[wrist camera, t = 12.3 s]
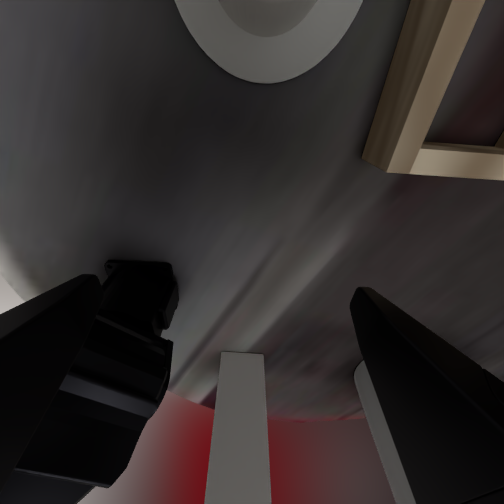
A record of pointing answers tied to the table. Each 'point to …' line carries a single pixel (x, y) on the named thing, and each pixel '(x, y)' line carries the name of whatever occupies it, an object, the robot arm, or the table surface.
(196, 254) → the table surface
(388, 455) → the utensil holder
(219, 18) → the mat
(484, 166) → the stand
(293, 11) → the jug
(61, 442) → the robot arm
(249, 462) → the milk
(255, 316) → the table surface
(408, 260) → the table surface
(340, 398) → the table surface
